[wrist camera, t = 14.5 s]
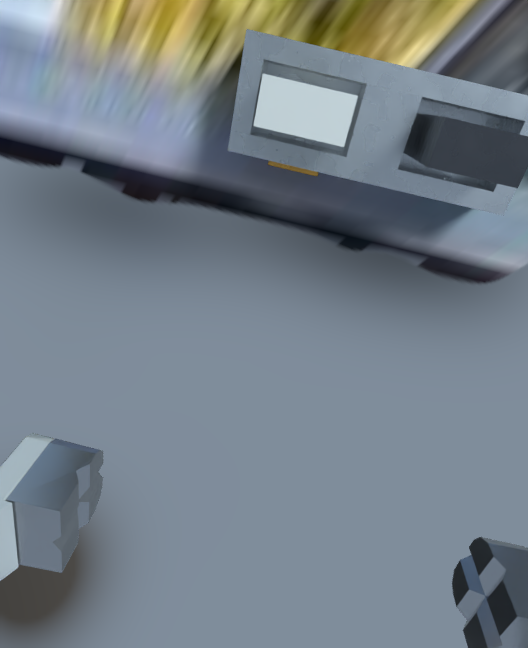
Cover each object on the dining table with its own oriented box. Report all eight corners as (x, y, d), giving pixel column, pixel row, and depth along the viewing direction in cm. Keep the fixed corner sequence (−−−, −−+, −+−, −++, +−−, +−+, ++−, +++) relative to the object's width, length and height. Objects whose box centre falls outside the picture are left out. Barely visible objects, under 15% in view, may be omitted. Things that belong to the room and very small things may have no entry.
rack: (236, 149, 38) (213, 164, 29) (255, 38, 34) (235, 16, 26) (479, 206, 38) (529, 239, 30) (525, 102, 34) (599, 103, 26)
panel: (266, 120, 36) (253, 125, 28) (274, 79, 35) (262, 73, 27) (337, 136, 36) (343, 147, 28) (347, 96, 35) (358, 95, 27)
